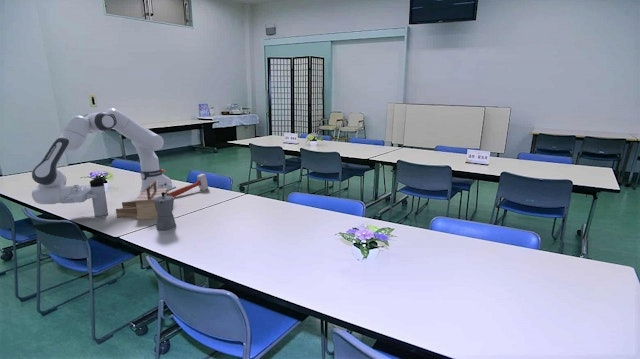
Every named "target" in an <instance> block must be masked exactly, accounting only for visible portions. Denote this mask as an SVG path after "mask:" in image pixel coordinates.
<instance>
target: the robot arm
mask: <svg viewBox="0 0 640 359" xmlns="http://www.w3.org/2000/svg"><path fill="white" fill-rule="evenodd" d="M112 129H113V130H115V131H116V132H117V133H119V134H121V135H122V136H123V137H125V138H126V139H129V140H131V141H130V142H131V143H132V145H133V146H134V148H135V150H136V153H137V155H138V157H139V162H140V164H139V165H140V178H141V187H140V192H142V191H143V190H144V189H147V188H148V186H149V185H150V184H151V182H152V181H153V180H156V188H157V189H159V188H168V191H169V190H172V189H173V190H174V189H175V188H177V186H176V185H175V184H173V183H172V182H173V181H172V180H171V178H170V177H168V176H167V175H165V174H163V173H165V172H166V170H165V169H164V168H163V169H160V163H159V162H160V161H159V157H158V156H157V154H156V153H155V151H158V150H160V149H162V148H163V146H164V143H165V141H164V139H163V136H162V135H159V134H157V133H155V132H153V131H152V130H150V129H149V128H147V127H145V126H143V125H141V124H139V123H138V122H136V121H135V120H134V119H132V118H131V117H130V116H128V115H127V114H125V113H123V112H121V111H120V110H118V109H116V108H109V109H106V111H103V112H93V113H89V114H85V115H83V116H82V115H73V116H71V118H70V119H69V120H68V121H67V123H66V124H65V126H64V127H63V129H62V131H61V134H60V135H59V136H58V138H56V139H55V141H54V142H53V143H52V144H51V146H50V148H49V149H48V150H47V152H46V154H45V155H44V157H43V159H42V160H41V161H40V163H37V165H36V166H35V167H34V168H33V169H32V172H31V178H32V180H33V181H34V182H35V183H37V184H38V185H37V186H36V187H35V188H34V189H32V192H31V197H32V200H33V201H34V202H35V203H37V204H38V205H57V204H76V203H84V202H85V201H87V200H90V199H92V198H96V197H98V194H91V187H90V185H79V184H74V185H68V186H67V177H66V175H65V174H64V173H63V172H62V171H59V170H58V168H57V167H58V165H59V163H60V161H61V159H62V158H63V156H64V155H65V153H66V152H71V151H72V152H73V151H77V150H78V151H79V150H80V149H81V148H82V147H83V145H84V144H85V142H86V140H87V137H88V134H89V133H90V134H93V133H103V132H109V131H111V130H112ZM151 189H154V186H152V188H151Z"/></svg>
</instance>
